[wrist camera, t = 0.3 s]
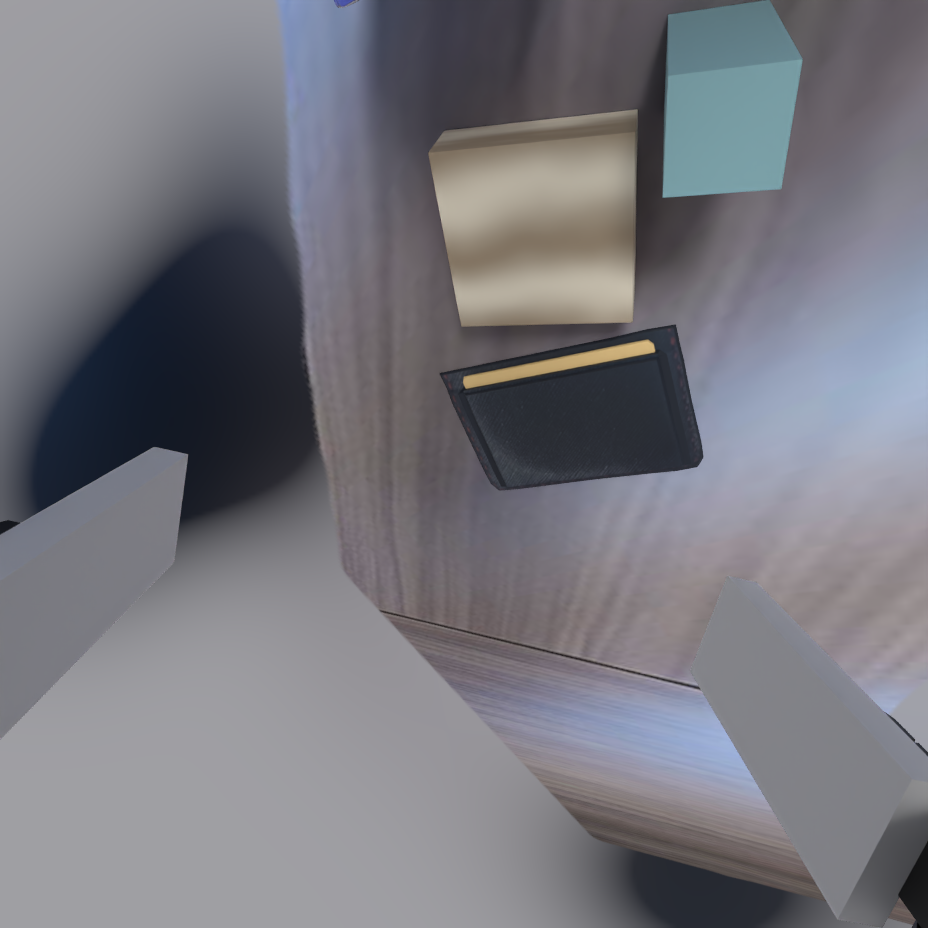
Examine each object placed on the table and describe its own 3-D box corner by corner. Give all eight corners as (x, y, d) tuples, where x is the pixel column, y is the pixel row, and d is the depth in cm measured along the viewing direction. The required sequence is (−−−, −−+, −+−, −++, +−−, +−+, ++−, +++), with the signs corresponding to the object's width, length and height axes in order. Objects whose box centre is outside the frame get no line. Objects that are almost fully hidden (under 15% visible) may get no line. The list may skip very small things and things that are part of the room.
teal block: (668, 14, 35) (668, 76, 26) (769, -1, 33) (802, 59, 25) (664, 115, 38) (662, 197, 30) (755, 105, 37) (781, 188, 28)
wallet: (490, 499, 63) (432, 375, 54) (493, 486, 65) (438, 362, 55) (706, 480, 55) (682, 332, 46) (705, 465, 57) (682, 318, 48)
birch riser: (444, 130, 41) (428, 153, 39) (637, 109, 38) (635, 131, 35) (472, 298, 49) (461, 326, 47) (634, 292, 46) (632, 322, 43)
